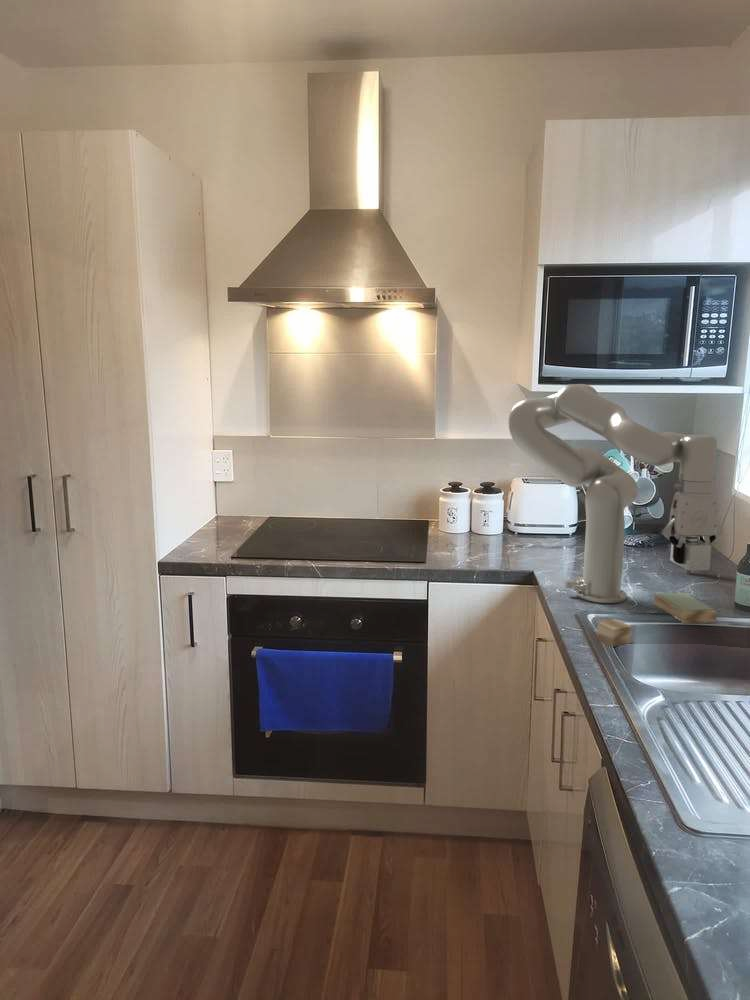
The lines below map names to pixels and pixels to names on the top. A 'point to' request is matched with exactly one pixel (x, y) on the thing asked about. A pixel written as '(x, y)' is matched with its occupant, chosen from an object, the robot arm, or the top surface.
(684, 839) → the top surface
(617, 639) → the ash block
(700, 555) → the housing
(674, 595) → the wooden block
